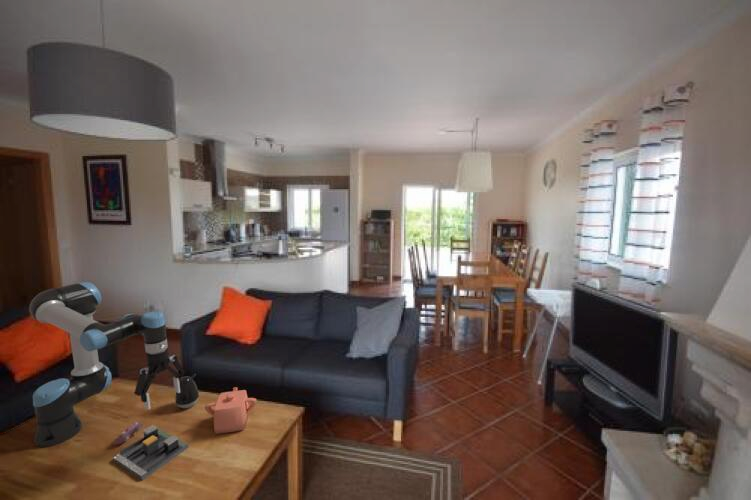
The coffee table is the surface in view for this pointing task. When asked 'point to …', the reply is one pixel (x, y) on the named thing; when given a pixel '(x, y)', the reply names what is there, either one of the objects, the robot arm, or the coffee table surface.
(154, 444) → the breaker
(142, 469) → the panel
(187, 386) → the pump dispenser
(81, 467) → the coffee table surface
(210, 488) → the coffee table surface
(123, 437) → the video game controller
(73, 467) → the coffee table surface
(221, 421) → the teapot
